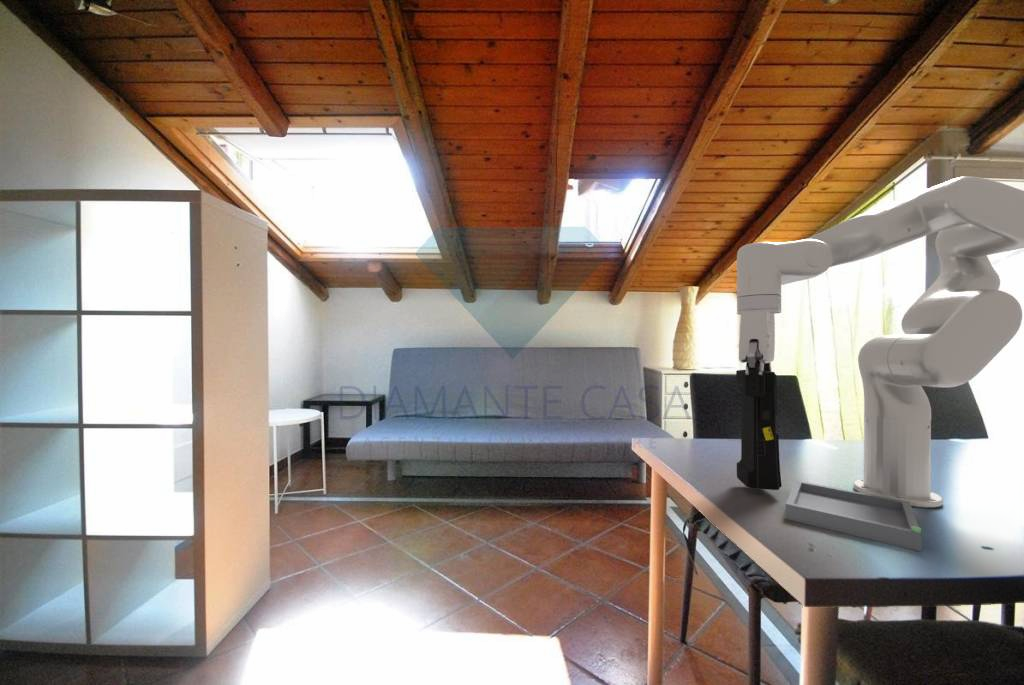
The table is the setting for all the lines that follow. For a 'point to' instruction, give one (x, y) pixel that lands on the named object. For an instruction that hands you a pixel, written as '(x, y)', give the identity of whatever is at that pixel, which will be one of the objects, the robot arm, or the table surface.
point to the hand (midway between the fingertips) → (759, 393)
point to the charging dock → (855, 514)
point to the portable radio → (759, 436)
